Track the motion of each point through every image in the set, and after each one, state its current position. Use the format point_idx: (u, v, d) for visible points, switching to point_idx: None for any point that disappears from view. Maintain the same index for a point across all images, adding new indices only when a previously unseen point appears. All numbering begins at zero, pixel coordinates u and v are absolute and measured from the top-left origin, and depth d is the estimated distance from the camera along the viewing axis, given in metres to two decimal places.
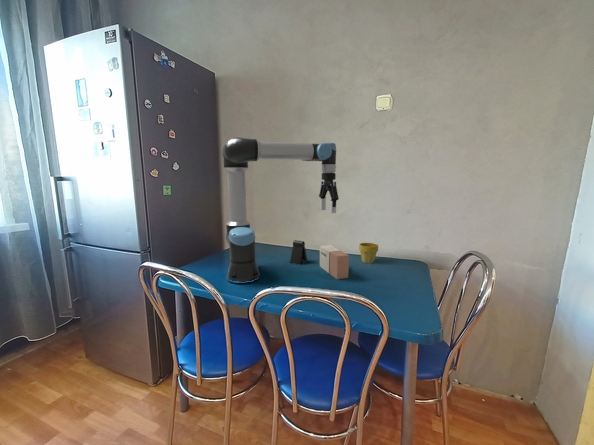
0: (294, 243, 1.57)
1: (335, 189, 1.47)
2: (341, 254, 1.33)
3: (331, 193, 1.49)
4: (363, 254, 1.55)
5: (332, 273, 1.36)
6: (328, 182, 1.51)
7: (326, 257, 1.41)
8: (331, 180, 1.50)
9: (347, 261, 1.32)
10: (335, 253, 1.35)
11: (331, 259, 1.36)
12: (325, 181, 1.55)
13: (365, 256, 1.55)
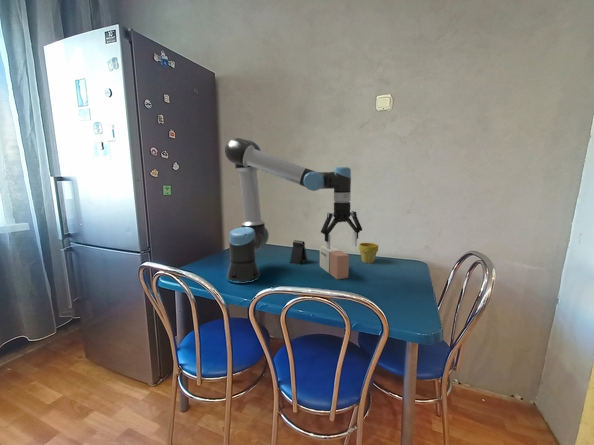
0: (294, 243, 1.57)
1: (326, 221, 1.27)
2: (341, 254, 1.33)
3: (329, 225, 1.30)
4: (363, 254, 1.55)
5: (332, 273, 1.36)
6: None
7: (326, 257, 1.41)
8: (334, 211, 1.28)
9: (347, 261, 1.32)
10: (335, 253, 1.35)
11: (331, 259, 1.36)
12: None
13: (365, 256, 1.55)
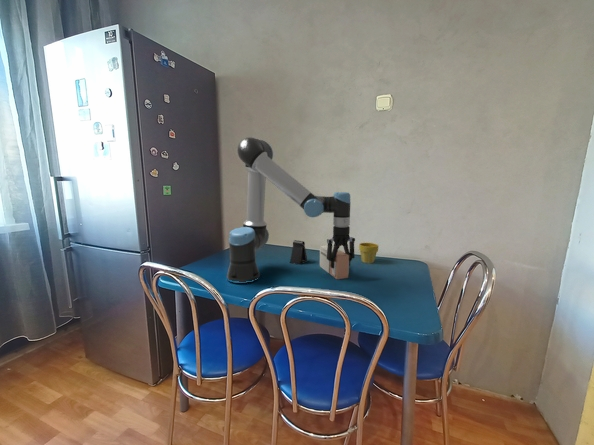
0: (294, 243, 1.57)
1: (328, 248, 1.30)
2: (341, 254, 1.33)
3: (332, 251, 1.32)
4: (363, 254, 1.55)
5: None
6: None
7: (326, 257, 1.41)
8: None
9: (347, 261, 1.32)
10: None
11: None
12: None
13: (365, 256, 1.55)
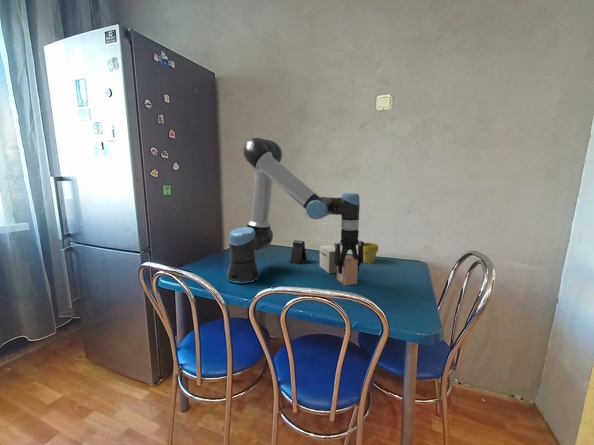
0: (294, 243, 1.57)
1: (336, 253, 1.23)
2: (349, 259, 1.26)
3: (340, 256, 1.25)
4: (363, 254, 1.55)
5: None
6: None
7: (326, 257, 1.41)
8: None
9: (356, 266, 1.25)
10: None
11: None
12: None
13: (365, 256, 1.55)
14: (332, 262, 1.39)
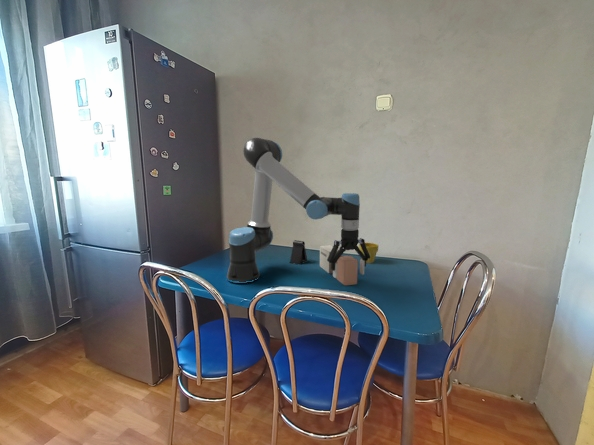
0: (294, 243, 1.57)
1: (333, 250, 1.22)
2: (349, 259, 1.26)
3: (336, 253, 1.24)
4: None
5: (340, 279, 1.28)
6: None
7: (326, 257, 1.41)
8: (341, 238, 1.23)
9: (356, 266, 1.24)
10: (343, 258, 1.27)
11: (339, 264, 1.29)
12: None
13: None
14: None
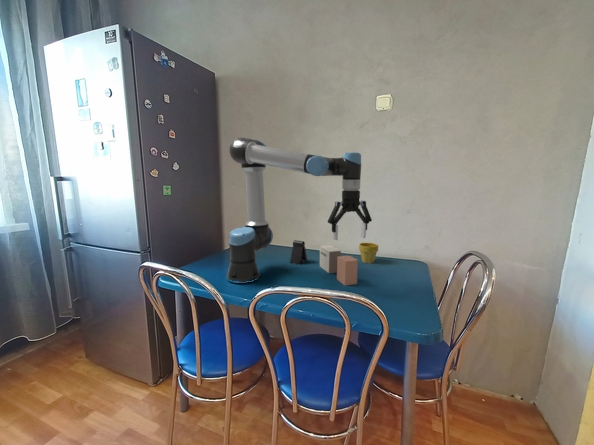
0: (294, 243, 1.57)
1: (334, 211, 1.19)
2: (349, 259, 1.26)
3: (337, 215, 1.21)
4: (363, 254, 1.55)
5: (340, 279, 1.28)
6: None
7: (326, 257, 1.41)
8: (342, 199, 1.20)
9: (356, 266, 1.24)
10: (343, 258, 1.27)
11: (339, 264, 1.29)
12: None
13: (365, 256, 1.55)
14: (332, 262, 1.39)
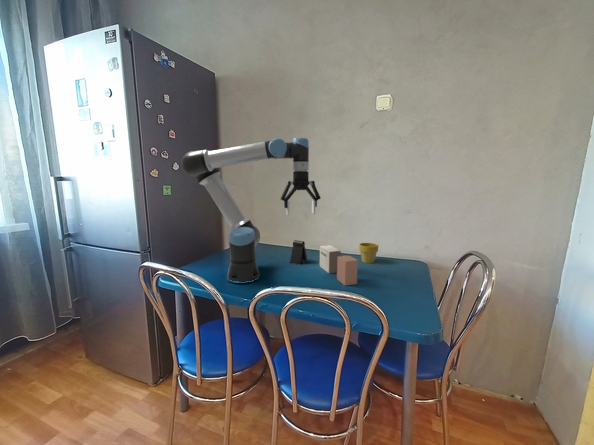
0: (294, 243, 1.57)
1: (285, 189, 1.37)
2: (349, 259, 1.26)
3: None
4: (363, 254, 1.55)
5: (340, 279, 1.28)
6: None
7: (326, 257, 1.41)
8: (293, 179, 1.38)
9: (356, 266, 1.24)
10: (343, 258, 1.27)
11: (339, 264, 1.29)
12: None
13: (365, 256, 1.55)
14: (332, 262, 1.39)
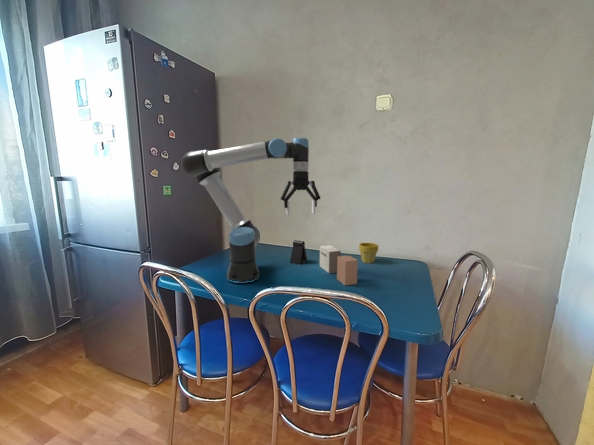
0: (294, 243, 1.57)
1: (285, 189, 1.37)
2: (349, 259, 1.26)
3: None
4: (363, 254, 1.55)
5: (340, 279, 1.28)
6: None
7: (326, 257, 1.41)
8: (293, 179, 1.38)
9: (356, 266, 1.24)
10: (343, 258, 1.27)
11: (339, 264, 1.29)
12: None
13: (365, 256, 1.55)
14: (332, 262, 1.39)
